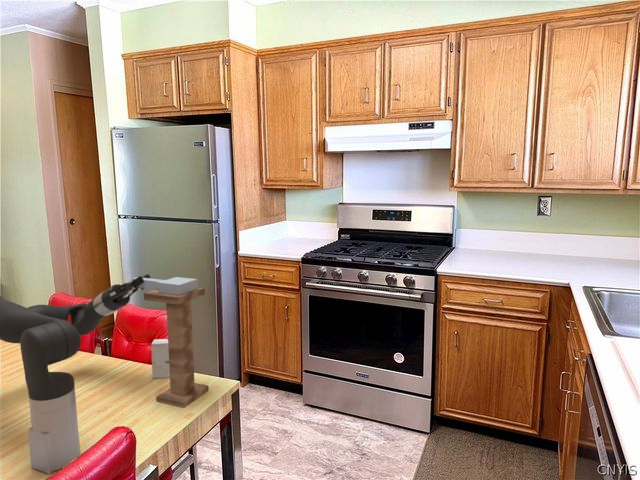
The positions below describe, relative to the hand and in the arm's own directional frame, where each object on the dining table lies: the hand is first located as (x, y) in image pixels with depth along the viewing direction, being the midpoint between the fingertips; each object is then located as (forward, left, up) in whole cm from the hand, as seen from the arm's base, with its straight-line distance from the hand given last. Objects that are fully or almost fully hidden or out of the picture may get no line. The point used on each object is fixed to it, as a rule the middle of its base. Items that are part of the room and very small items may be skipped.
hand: (145, 278), depth 138 cm
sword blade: (0, -6, -3) cm, 7 cm away
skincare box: (+9, +4, -36) cm, 37 cm away
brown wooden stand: (0, -11, -36) cm, 38 cm away
